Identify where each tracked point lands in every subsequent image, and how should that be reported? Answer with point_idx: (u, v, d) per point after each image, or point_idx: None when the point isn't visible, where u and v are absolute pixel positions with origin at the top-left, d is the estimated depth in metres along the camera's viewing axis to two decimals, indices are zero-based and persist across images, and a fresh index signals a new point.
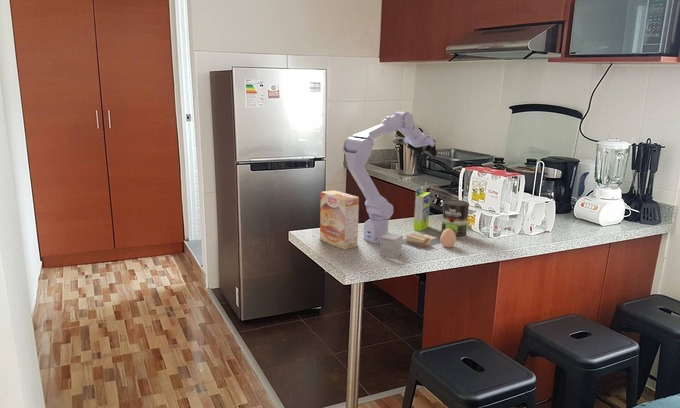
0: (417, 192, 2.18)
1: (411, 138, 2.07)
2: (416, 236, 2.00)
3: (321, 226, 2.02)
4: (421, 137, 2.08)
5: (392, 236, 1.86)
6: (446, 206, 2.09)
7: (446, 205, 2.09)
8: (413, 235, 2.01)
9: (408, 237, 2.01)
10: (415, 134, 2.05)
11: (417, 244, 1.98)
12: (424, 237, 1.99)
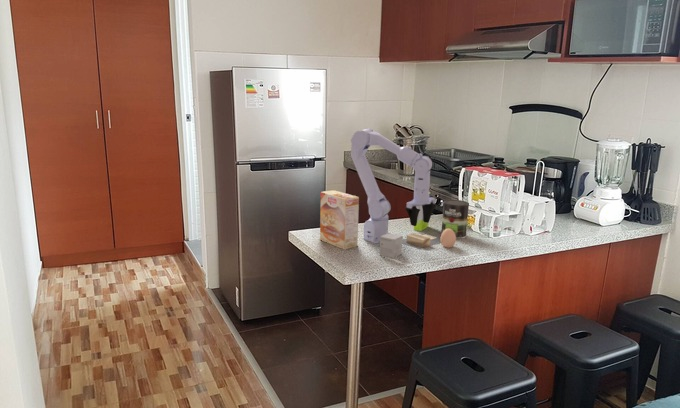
0: None
1: (414, 187, 1.95)
2: (416, 236, 2.00)
3: (321, 226, 2.02)
4: (417, 196, 1.94)
5: (392, 236, 1.86)
6: (446, 206, 2.09)
7: (446, 205, 2.09)
8: (413, 235, 2.01)
9: (408, 237, 2.01)
10: (417, 186, 1.93)
11: (417, 244, 1.98)
12: (424, 237, 1.99)
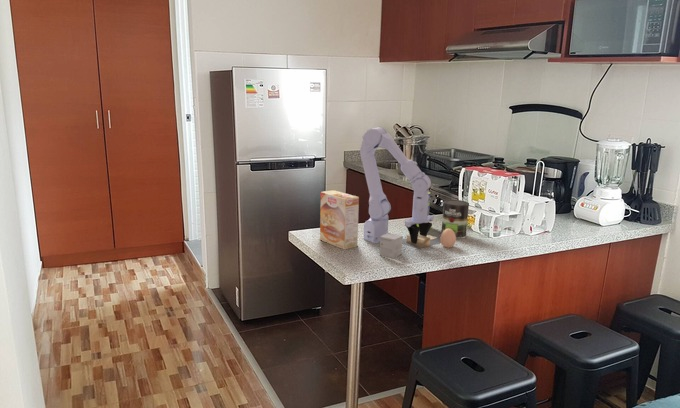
0: None
1: None
2: None
3: (321, 226, 2.02)
4: (415, 214, 1.96)
5: (392, 236, 1.86)
6: (446, 206, 2.09)
7: (446, 205, 2.09)
8: None
9: (408, 237, 2.01)
10: (415, 205, 1.95)
11: (417, 244, 1.98)
12: (424, 237, 1.99)
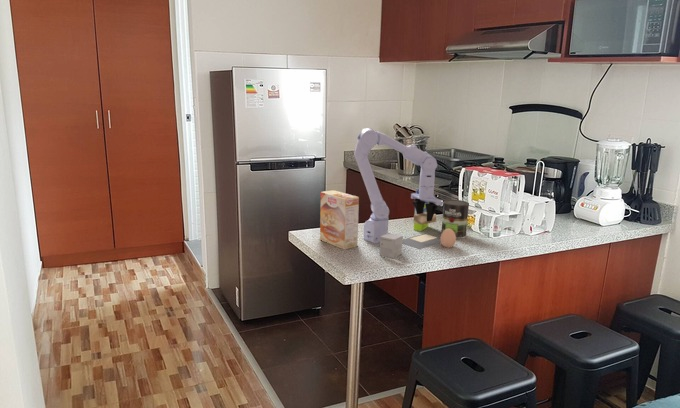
0: (417, 192, 2.18)
1: (420, 185, 2.01)
2: (425, 215, 2.04)
3: (321, 226, 2.02)
4: (432, 193, 2.01)
5: (392, 236, 1.86)
6: (446, 206, 2.09)
7: (446, 205, 2.09)
8: (421, 215, 2.04)
9: (423, 218, 2.02)
10: (425, 184, 1.99)
11: (431, 221, 2.05)
12: None
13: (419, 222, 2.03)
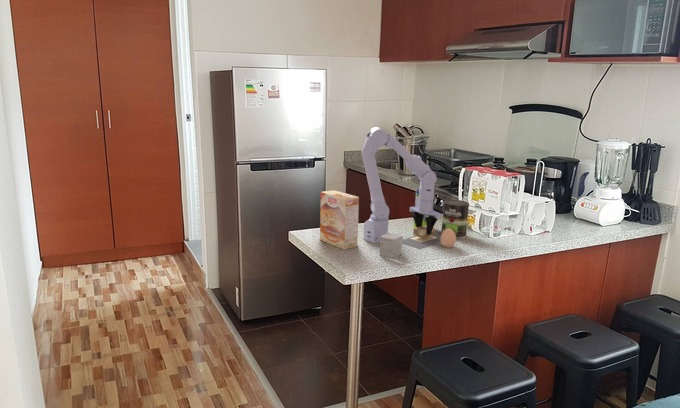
0: (417, 192, 2.18)
1: (420, 199, 2.03)
2: (424, 228, 2.06)
3: (321, 226, 2.02)
4: (431, 206, 2.03)
5: (392, 236, 1.86)
6: (446, 206, 2.09)
7: (446, 205, 2.09)
8: (421, 228, 2.05)
9: (423, 232, 2.03)
10: (425, 197, 2.01)
11: (431, 234, 2.07)
12: (426, 226, 2.09)
13: (419, 235, 2.04)
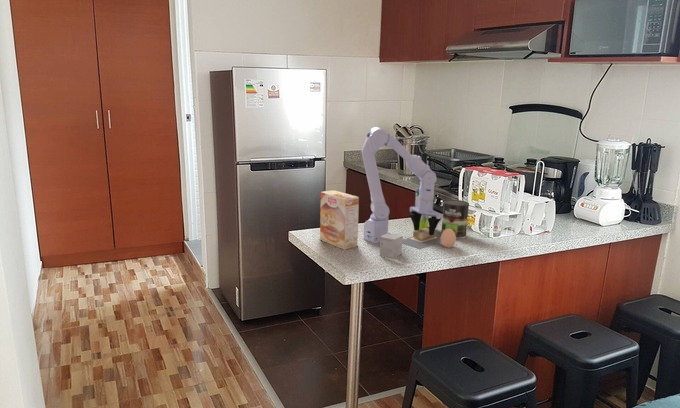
0: (417, 192, 2.18)
1: (420, 199, 2.03)
2: (424, 231, 2.06)
3: (321, 226, 2.02)
4: (431, 206, 2.03)
5: (392, 236, 1.86)
6: (446, 206, 2.09)
7: (446, 205, 2.09)
8: (421, 231, 2.05)
9: (423, 235, 2.04)
10: (425, 197, 2.01)
11: (430, 237, 2.07)
12: (426, 229, 2.09)
13: (419, 238, 2.04)
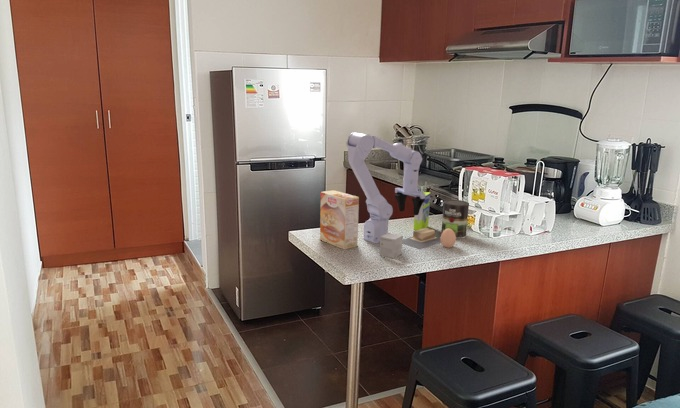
0: None
1: (406, 180, 2.06)
2: (424, 231, 2.06)
3: (321, 226, 2.02)
4: (416, 187, 2.07)
5: (392, 236, 1.86)
6: (446, 206, 2.09)
7: (446, 205, 2.09)
8: (421, 231, 2.05)
9: (423, 235, 2.04)
10: (412, 178, 2.05)
11: (430, 237, 2.07)
12: (426, 229, 2.09)
13: (419, 238, 2.04)
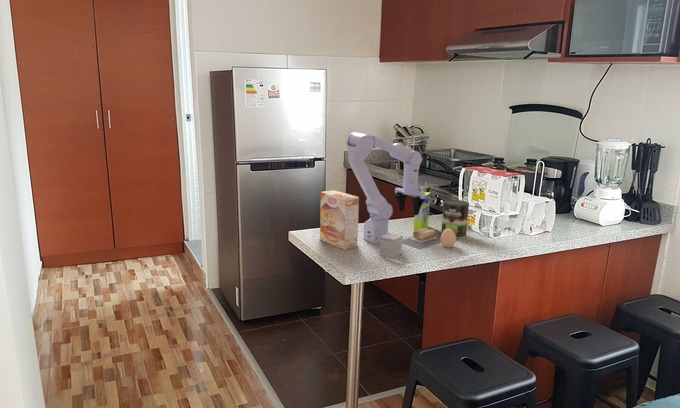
0: None
1: (406, 180, 2.06)
2: (424, 231, 2.06)
3: (321, 226, 2.02)
4: (416, 187, 2.07)
5: (392, 236, 1.86)
6: (446, 206, 2.09)
7: (446, 205, 2.09)
8: (421, 231, 2.05)
9: (423, 235, 2.04)
10: (412, 178, 2.05)
11: (430, 237, 2.07)
12: (426, 229, 2.09)
13: (419, 238, 2.04)
